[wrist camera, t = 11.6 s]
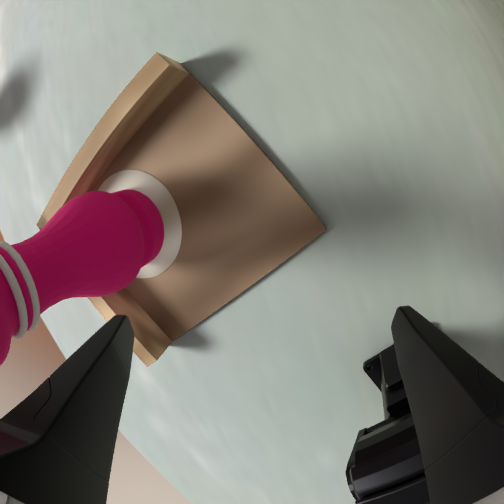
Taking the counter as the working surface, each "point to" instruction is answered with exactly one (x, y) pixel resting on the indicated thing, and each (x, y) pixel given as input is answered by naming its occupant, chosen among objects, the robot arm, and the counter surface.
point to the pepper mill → (76, 257)
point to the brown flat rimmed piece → (187, 202)
